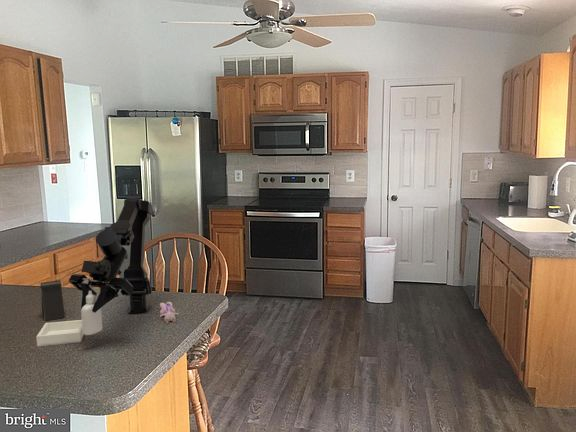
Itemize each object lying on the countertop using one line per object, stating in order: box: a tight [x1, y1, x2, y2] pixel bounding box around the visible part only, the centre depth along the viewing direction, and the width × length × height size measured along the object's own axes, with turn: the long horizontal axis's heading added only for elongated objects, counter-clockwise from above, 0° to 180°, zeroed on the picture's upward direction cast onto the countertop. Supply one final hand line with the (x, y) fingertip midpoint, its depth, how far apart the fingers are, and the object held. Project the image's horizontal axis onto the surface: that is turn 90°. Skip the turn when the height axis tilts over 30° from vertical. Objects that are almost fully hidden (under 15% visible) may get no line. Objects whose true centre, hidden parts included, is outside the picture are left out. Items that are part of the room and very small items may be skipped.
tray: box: [36, 319, 84, 347], centre depth 146 cm, size 12×12×3 cm
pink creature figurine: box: [159, 301, 179, 324], centre depth 163 cm, size 6×6×15 cm
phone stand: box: [40, 280, 66, 322], centre depth 164 cm, size 9×6×12 cm, turn 34°
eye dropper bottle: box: [80, 291, 103, 336], centre depth 137 cm, size 4×6×12 cm
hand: (87, 311), depth 135 cm, fingers closed on eye dropper bottle, 3 cm apart
